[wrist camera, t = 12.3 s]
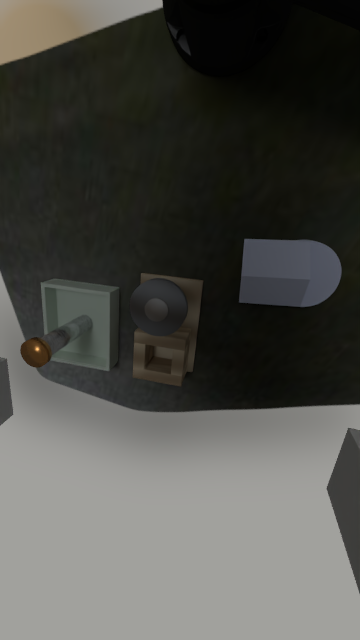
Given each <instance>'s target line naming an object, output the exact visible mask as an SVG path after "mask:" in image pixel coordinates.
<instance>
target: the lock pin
mask: <svg viewBox="0 0 360 640" xmlns="http://www.w3.org/2000/svg"><path fill="white" fill-rule="evenodd" d="M92 325H93V323H92V320H91V318H90V317H89V316H87V315H80V316H78V317H77V318H75V319H73V320H71V321H69V322H68V323H66V324H64V325H62V326H60V327H59V328H57V329H55V330H53V331H51V332H50V333H48V334H46V335H44V336H42V337H41V338H37V337H34V338H31V339H29V340H27V341H26V342H24V343H23V344H22V346H21V355H22V357H23V359H24V360H25V361H26V363H27V364H29V365H30V366H33V367H42V366H43V365H45V364H46V363H47V362H49V361H50V360H51V357H52V355H53V354H54V353H56V352H57V351H59V350H60V349H62V348H63V347H65V346H66V345H68V344H69V343H71V342H72V341H74V340H75V339H77V338H78V337H80V336H81V335H83V334H84V333H86V332H87V331H89V330H90V329H91V328H92Z"/></svg>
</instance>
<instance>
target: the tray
mask: <svg viewBox="0 0 360 640" xmlns="http://www.w3.org/2000/svg"><path fill="white" fill-rule="evenodd" d="M41 292H42V305H43V319H44V333H45V335H46V334H48V333H50V332H51V331H53V330H55V329H57V328H59V327H60V326H62V325H64V324H66V323H68V322H69V321H71V320H73V319H75V318H77V317H78V316H80V315H87V316H89V317H90V318H91V320H92V323H93V325H92V328H91V329H90V330H89V331H87V332H86V333H84V334H83V335H81V336H80V337H78V338H77V339H75V340H74V341H72V342H71V343H69V344H68V345H66V346H65V347H63V348H62V349H60V350H59V351H57V352H56V353H54V354H53V355H52V357H51V360H52V361H57V362H63V363H68V364H73V365H79V366H84V367H89V368H95V369H100V370H105V371H110V370H111V369H112V368H113V366H114V365H115V364H116V363H117V362H118V345H119V293H120V287H113V286H106V285H99V284H91V283H84V282H77V281H70V280H62V279H52V280H49V281H45V282H42V283H41Z"/></svg>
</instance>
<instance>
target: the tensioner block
mask: <svg viewBox="0 0 360 640" xmlns="http://www.w3.org/2000/svg"><path fill="white" fill-rule="evenodd" d="M203 281H204V280H196V279H189V278H181V277H173V276H165V275H157V274H149V273H141V285H139V286H138V287H137V288H136V289H135V290H134V292H133V294H132V296H131V299H130V305H129V306H130V313H131V316H132V319H133V321H134V322H135V324H136V325H137V326H138V327H139V328H138V329H137V330H136V331H135V334H134V359H133V377H134V378H139V379H144V380H149V381H155V382H160V383H165V384H171V385H176V386H181V385H182V382H183V380H184V377H185V374H186V372H193V367H194V358H195V350H196V341H197V332H198V324H199V315H200V307H201V298H202V290H203Z"/></svg>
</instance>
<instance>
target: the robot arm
mask: <svg viewBox="0 0 360 640" xmlns="http://www.w3.org/2000/svg"><path fill="white" fill-rule="evenodd" d="M292 3H295V4H297V5H300V6H302V7H305V8H307V9H309V10H312V11H314V12H317V13H319V14H322V15H324V16H326V17H329V18H331V19H334V20H336V21H338V22H341V23H343V24H346V25H348V26H351V27H353V28H355V29H358V30H360V0H163V10H164V16H165V20H166V24H167V27H168V30H169V33H170V35H171V38H172V40H173V43H174V45H175V47H176V49H177V50H178V52H179V53H180V55H181V56H182V57H183V59H184V60H185V61H186V62H187V63H188V64H189V65H191V66H192V67H193V68H195V69H197V70H198V71H200V72H202V73H205V74H209V75H214V76H227V75H232V74H236V73H239V72H241V71H243V70H246V69H247V68H249V67H251V66H252V65H254V64H255V63H256V62H258V61H259V60H260V59H261V58H262V57H263V56H264V55H265V54H266V53H267V52H268V51H269V50H270V49H271V48H272V46H273V45H274V44H275V42H276V41H277V39H278V38H279V36H280V34H281V32H282V31H283V29H284V27H285V24H286V22H287V19H288V17H289V14H290V11H291V7H292ZM12 415H13V408H12V400H11V391H10V383H9V374H8V365H7V359H5V358H0V425H1V424H3V423H4V422H5V421H6V420H7V419H8V418H10V417H11V416H12ZM327 491H328V494H329V497H330V500H331V503H332V507H333V510H334V513H335V516H336V519H337V522H338V526H339V529H340V532H341V535H342V538H343V542H344V545H345V548H346V551H347V554H348V558H349V560H350V564H351V567H352V570H353V574H354V577H355V580H356V583H357V586H358V589H359V593H360V430H356V429H351V428H348V431H347V433H346V436H345V439H344V442H343V444H342V447H341V450H340V453H339V455H338V458H337V461H336V464H335V467H334V469H333V473H332V475H331V478H330V480H329V483H328V486H327Z"/></svg>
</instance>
